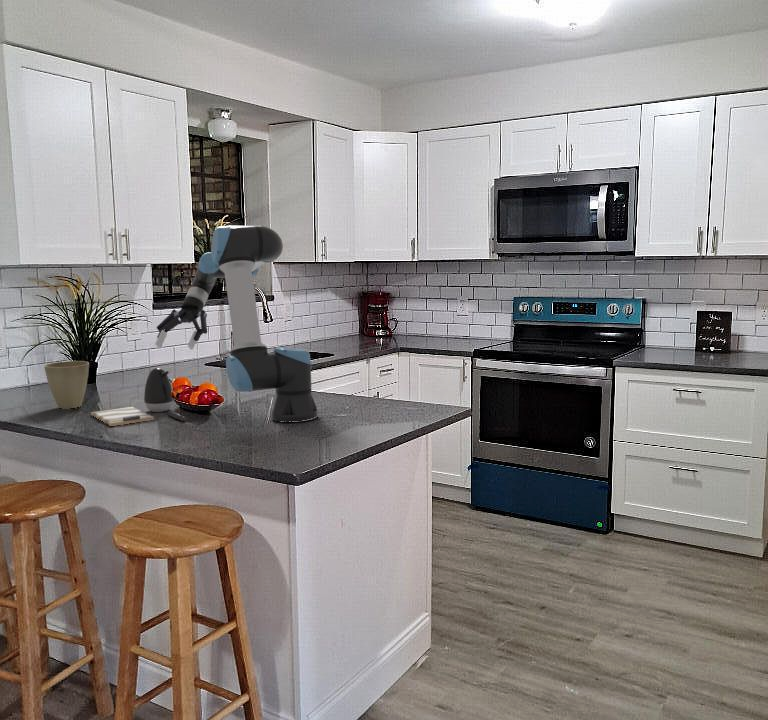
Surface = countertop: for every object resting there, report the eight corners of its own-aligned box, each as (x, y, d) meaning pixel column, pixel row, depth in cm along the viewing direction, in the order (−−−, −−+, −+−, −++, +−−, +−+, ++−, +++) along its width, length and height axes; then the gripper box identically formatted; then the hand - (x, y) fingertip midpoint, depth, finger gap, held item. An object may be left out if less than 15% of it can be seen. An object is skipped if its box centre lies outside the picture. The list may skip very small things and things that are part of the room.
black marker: (187, 421, 242) (186, 416, 241) (182, 422, 241) (182, 417, 240) (171, 414, 252) (171, 410, 252) (167, 415, 252) (166, 410, 251)
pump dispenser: (159, 415, 252) (156, 371, 250) (138, 412, 258) (135, 369, 256) (181, 409, 261) (178, 366, 259) (160, 406, 266) (158, 364, 264)
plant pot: (40, 412, 261) (36, 367, 259) (59, 403, 276) (56, 361, 274) (81, 411, 261) (78, 366, 258) (99, 403, 275) (95, 360, 273)
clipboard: (154, 420, 244) (153, 413, 244) (110, 427, 236) (110, 420, 236) (132, 409, 262) (132, 403, 261) (91, 415, 253) (91, 409, 253)
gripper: (227, 308, 277) (208, 354, 266) (170, 307, 285) (149, 352, 274) (219, 295, 272) (199, 341, 260) (161, 295, 280) (139, 339, 268)
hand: (173, 346), depth 267 cm, fingers open, 13 cm apart
